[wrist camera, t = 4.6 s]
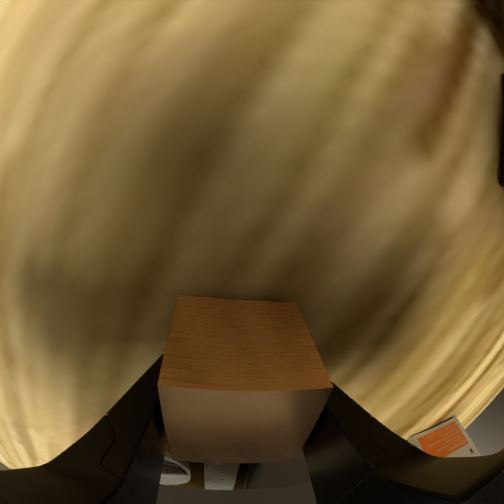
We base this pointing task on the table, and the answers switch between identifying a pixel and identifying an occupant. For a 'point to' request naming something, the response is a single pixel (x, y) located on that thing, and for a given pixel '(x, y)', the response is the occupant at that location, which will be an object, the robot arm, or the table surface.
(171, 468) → the token
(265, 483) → the cabinet
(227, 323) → the brown block with rod
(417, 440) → the skincare box
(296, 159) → the table surface
